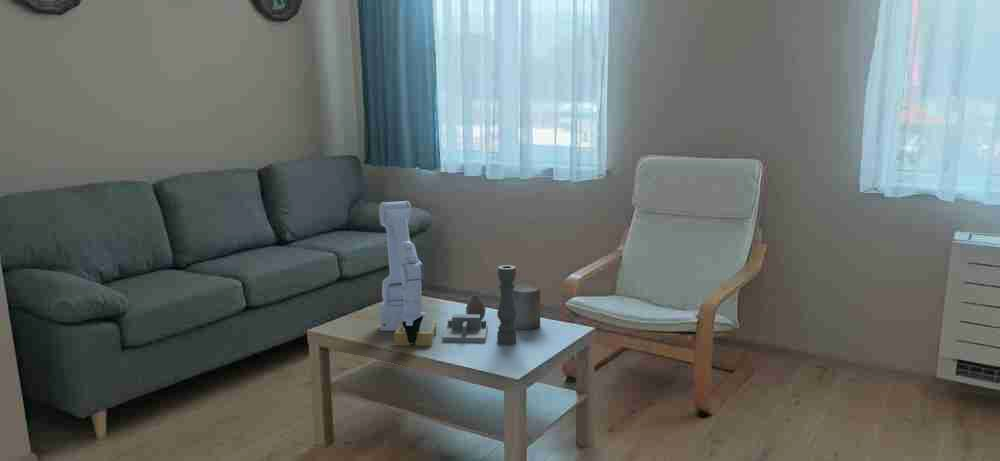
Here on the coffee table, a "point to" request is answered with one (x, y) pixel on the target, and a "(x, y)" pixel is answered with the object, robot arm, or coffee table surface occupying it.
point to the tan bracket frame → (422, 337)
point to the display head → (465, 329)
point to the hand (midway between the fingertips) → (413, 340)
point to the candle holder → (506, 305)
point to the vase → (476, 307)
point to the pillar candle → (527, 306)
